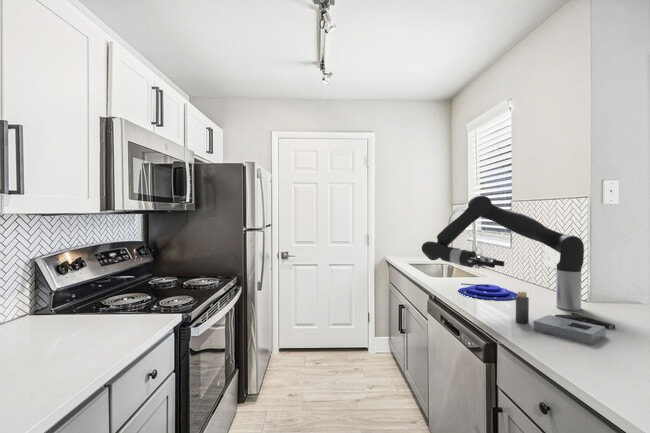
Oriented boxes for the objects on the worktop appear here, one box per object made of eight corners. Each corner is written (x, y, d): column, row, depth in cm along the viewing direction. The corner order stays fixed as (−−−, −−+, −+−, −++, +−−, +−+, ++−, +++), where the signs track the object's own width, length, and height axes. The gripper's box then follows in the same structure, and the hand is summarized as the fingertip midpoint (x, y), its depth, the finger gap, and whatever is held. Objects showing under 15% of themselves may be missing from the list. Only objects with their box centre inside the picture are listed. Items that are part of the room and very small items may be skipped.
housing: (548, 323, 138) (548, 314, 138) (605, 336, 123) (605, 326, 123) (533, 330, 130) (533, 320, 130) (592, 345, 116) (592, 334, 116)
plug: (518, 319, 143) (518, 290, 143) (530, 322, 139) (530, 292, 139) (513, 322, 140) (513, 292, 140) (525, 324, 136) (525, 294, 136)
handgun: (592, 326, 129) (617, 323, 132) (553, 314, 145) (576, 311, 148) (592, 333, 129) (617, 330, 132) (553, 320, 145) (576, 317, 148)
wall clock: (533, 288, 179) (485, 292, 170) (533, 299, 179) (485, 303, 170) (489, 278, 207) (446, 281, 198) (489, 287, 207) (446, 290, 198)
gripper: (455, 249, 154) (492, 256, 141) (471, 248, 163) (507, 255, 150) (453, 266, 154) (490, 274, 142) (470, 264, 163) (505, 272, 151)
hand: (499, 264), depth 146 cm, fingers open, 8 cm apart
